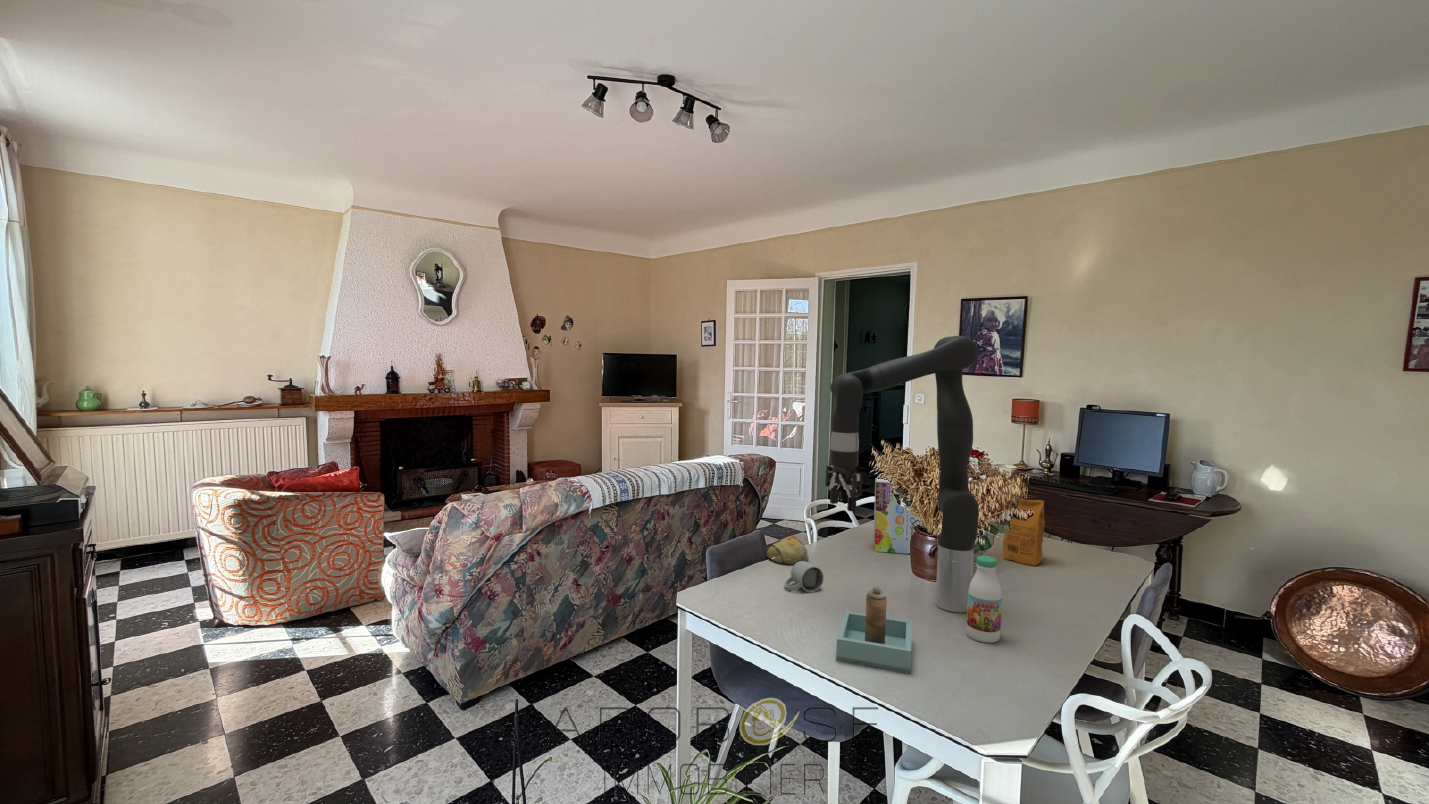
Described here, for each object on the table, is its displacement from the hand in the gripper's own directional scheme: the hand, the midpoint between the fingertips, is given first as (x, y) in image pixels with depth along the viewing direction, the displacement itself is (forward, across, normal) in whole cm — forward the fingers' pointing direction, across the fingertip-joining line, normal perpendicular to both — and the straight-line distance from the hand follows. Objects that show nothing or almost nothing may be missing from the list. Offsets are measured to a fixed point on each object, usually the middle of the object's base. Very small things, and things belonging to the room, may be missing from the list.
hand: (842, 507), depth 162 cm
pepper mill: (+27, -24, +6) cm, 37 cm away
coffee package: (+28, +13, -83) cm, 88 cm away
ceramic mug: (+28, +15, +3) cm, 32 cm away
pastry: (+28, +39, -5) cm, 49 cm away
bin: (+28, -24, +6) cm, 37 cm away
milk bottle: (+28, -27, -24) cm, 46 cm away
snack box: (+28, +34, -50) cm, 66 cm away
